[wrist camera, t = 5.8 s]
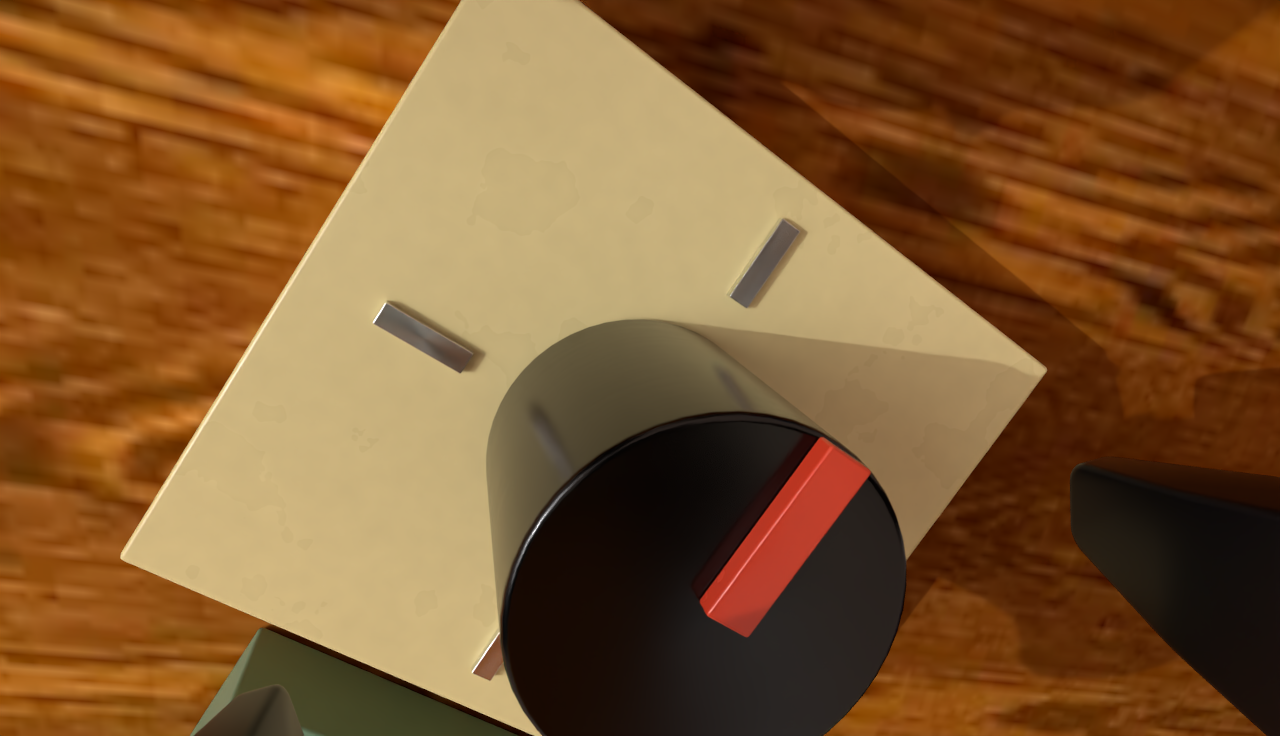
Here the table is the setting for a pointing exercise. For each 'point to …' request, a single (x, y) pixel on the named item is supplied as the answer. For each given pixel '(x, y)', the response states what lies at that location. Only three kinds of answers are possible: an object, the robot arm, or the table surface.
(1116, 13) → the table surface
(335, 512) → the panel
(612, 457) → the stove knob
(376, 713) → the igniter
